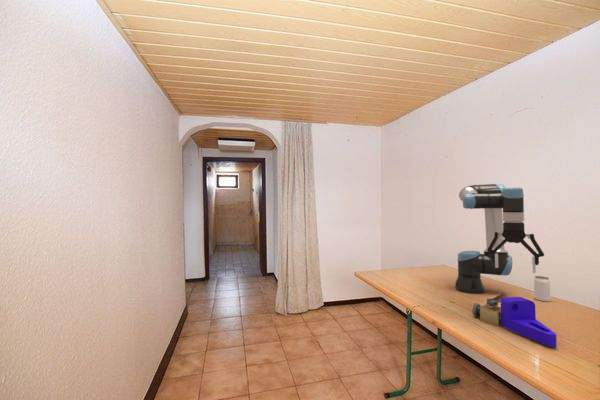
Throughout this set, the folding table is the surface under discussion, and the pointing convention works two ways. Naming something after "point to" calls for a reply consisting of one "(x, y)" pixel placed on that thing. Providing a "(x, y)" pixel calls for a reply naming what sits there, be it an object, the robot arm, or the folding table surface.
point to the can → (542, 288)
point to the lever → (495, 300)
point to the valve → (487, 313)
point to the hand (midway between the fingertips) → (514, 269)
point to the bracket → (525, 320)
